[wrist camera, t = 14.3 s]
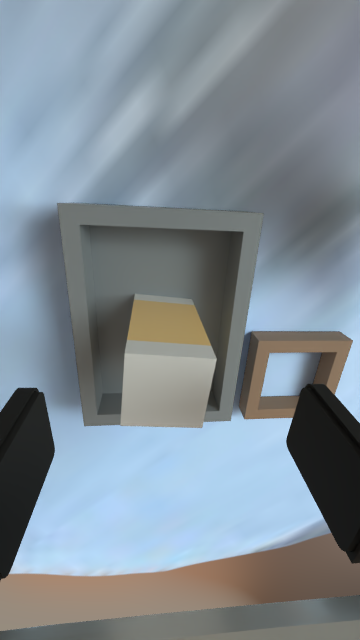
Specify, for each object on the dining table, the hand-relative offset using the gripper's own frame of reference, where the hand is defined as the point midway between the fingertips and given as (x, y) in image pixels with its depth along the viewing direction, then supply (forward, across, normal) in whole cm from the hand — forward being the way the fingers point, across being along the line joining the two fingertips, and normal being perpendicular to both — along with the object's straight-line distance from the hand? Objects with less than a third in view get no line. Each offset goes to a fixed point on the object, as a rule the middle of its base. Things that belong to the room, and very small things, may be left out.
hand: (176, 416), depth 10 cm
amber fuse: (+10, 0, +1) cm, 10 cm away
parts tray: (+11, 0, +1) cm, 11 cm away
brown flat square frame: (+11, -11, +6) cm, 16 cm away
